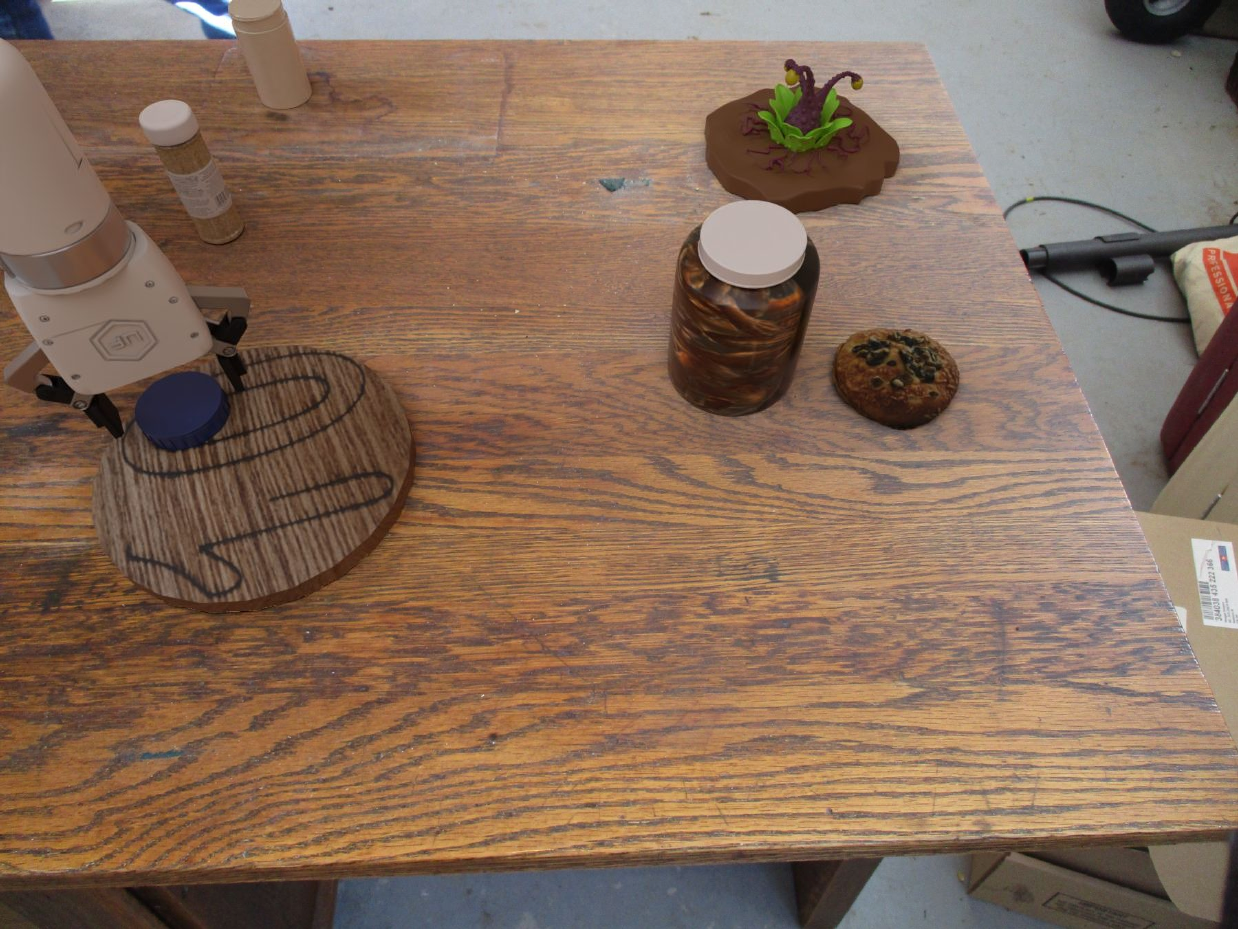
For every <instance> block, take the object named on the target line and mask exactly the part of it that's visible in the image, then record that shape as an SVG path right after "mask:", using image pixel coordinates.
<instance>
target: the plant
mask: <svg viewBox="0 0 1238 929" xmlns="http://www.w3.org/2000/svg"><path fill="white" fill-rule="evenodd" d="M783 70H784V71H785V72H786V73H785V76H784V80H785V83H786V85H783V84H782V83H779V82H778V83H777V84H776V85H775V86H774V88H767V87H765V88H762V89H759V90H756V91H755V92H753V93H751V94H749V95H746V96H744V97H740V98H738V99H734V100H732V101H729V102H727V103H725V104H723V105H721V106H719V107H718V108H716V109H715V110H713V111H712V112H710V113H709V114H707V116H706V118H705V125H704V138H705V142H706V147H705V161H706V163H707V164H706V165H707V166H708V168H709V170H710V171H711V173H713V175H714V176H715V178H717V180H718V181H719V183H720V184H721V186H722V187H723V188H724V189H725V190H726V191H727V192H729V193H732V194H734V195H738V196H740V197H743V198H744V199H745V200H759V201H765V202H770V203H773V204H776V205H779V206H781V207H783V208H785V209H787V210H788V211H790V212H792V213H793V214H794V215H795V214H798V213H802V212H816V211H821V210H824V209H827V208H831V207H833V206H836V205H839V204H858V205H859V204H860V203H861V201H862V200H863V198H866V197H869V196H870V197H871V196H877V195H878V194H880V192H881V190H882V186H883V183H884V180H885V178H889V177H893V176H894V175H895V174H896V172H897V170H898V167H899V164H900V160H901V151H900V147H899V144H898V142H897V140H896V139H895V138H894V137H893V136H892V135H890V134H889V133H888V132H887V131H886V130H885V129H884V128H883V127H881V125H879V124H878V123H877V122H876V121H875V120H874V119H873V118H872V116H870V115H869V114H868V113H867V112H866V111H864V110H863V109H861V108H860V107H858V106H856V105H855V104H853V103H852V102H851V101H850V99H848V98H847V97H846V96H843V95H839V94H838V93H837V89H836V88H835V87H834V86H835V85H836V84H837V83H838V82H839V81H840V80H842V79H845V78H846V77H850V86H851V88H852V89H853V90H854V91H859V90H861V89H862V88H863V86H864V79H863V77H862V76H861V75H860V74H858V73H857V72H853V71H851V70H846V71H842V72H840V73H837V74H836V75H835V76H832V77H831V79H828V80H827V83H824V84H823V86H822V87H817V86H815V84H816V79H815V78H814V77H815V75H814V72H813V71H812V69H811V66H809V65H805V64H804V65H799V64H798V63H797V61H796V60H794V59H793V58H788V59H786V60H785V61H784V64H783ZM804 73H805V74H804ZM788 86H791V87H788Z"/></svg>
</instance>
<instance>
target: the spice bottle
mask: <svg viewBox="0 0 1238 929" xmlns="http://www.w3.org/2000/svg"><path fill="white" fill-rule="evenodd" d="M138 123H139V125H140V128H141V130H142V131H143V133H144V136H145V138H146V139H147V140H148V142H150V143H151V145H152V146H153V148H154V149H155V152H156V153H157V155H158V157H159V160H160V161H161V163H162V165H163V167H164V171H165V173H166V174H167V176H168V178H169V181H170V182H171V184H172V186H173V188H174V189H175V192H176V194H177V195H178V198H179V199H180V201H181V204H182V205H183V207H184V209H185V210H186V212H187V214H188V215H189V216H190V219H191V220H192V222H193V225H194V226H195V228H196V230H197V234H198V236H199V238H200V239H201V240H202V241H203V242H205V243H208V244H213V245H223V244H226V243H229V242H232V241H234V240H236V239H237V238H238V237H239V236H240V235H241V234H242V232H243V230H244V228H245V226H244V224H245V223H244V220H243V218H242V217H241V216H240V215H239V212H238V211H237V209H236V206H235V204H234V202H233V197H232V195H231V193H230V191H229V189H228V186H227V184H226V182H225V180H224V178H223V176H222V174H221V172H220V169H219V167H218V165H217V163H216V161H215V159H214V156H213V155H212V153H211V152H210V149H209V148H208V146H207V144H206V141H205V140H204V137H203V135H202V133H201V128H200V126H199V122H198V120H197V118H196V116H195V114H194V112H193V110H192V108H191V107H190V105H189V104H188V103H186V102H184V101H183V100H178V99H164V100H163V99H162V100H159V101H156V102H154V103H150V104H149V105H148V106H146V107H145V108H144V109H143V110H142V111H140V113H139V116H138Z"/></svg>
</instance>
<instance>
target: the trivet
mask: <svg viewBox="0 0 1238 929" xmlns="http://www.w3.org/2000/svg"><path fill="white" fill-rule="evenodd" d="M237 352H238V354H239V356H240V358H241V360H242V361H243V363H244V366H245V368H246V370H247V374H245V375H242V376H240V377H241V379H242V382H243V385H244V387H245V391H243V392H240V393H239V391H238V392H236V391H235V389H234V387H233V386H232V384H231V382H230V381H229V379H228V377H227V376H226V374H225V372H224V371H223V369H222V367H221V366H220V364H219V362H218V359H217V358H215V359H212V360H210V361H208V362H205V363H203V364H201V365H198V366H195V367H194V368H191V369H189V370H188V371H196V372H201V373H205V374H207V375H209V376H211V377H213V378H214V379H215V380H216V381H217V382H218V383H219V384H220V386H221V388H222V389H223V390H224V392H225V393H226V395H227V396H228V398H229V399H228V401H229V404H230V406H231V407H230V412H229V414H230V415H229V417H228V419H227V421H226V424H225V425H224V426H223V428H222V429H221V430H220V431H219V432H218V433H217V434H216V435H215V436H214V437H212V438H211V439H210V440H208V441H206V442H204V443H202V444H200V445H198V446H195V447H192V448H188V449H181V450H170V449H164V448H161V447H159V446H155V444H154V443H152V442H151V441H149V440H148V439H147V438H146V436H145V435H144V434H143V433H142V430H141V429H140V427H139V426H138V425H137V422H136V420H135V414H134V412H135V410H134V411H133V412H132V413H131V414H130V415H129V416H128V417H127V418H126V419H124V421H123V423H122V426H123V430H124V434H123V437H120V438H117V439H115V438H114V437H112V439H111V440H110V442H109V443H108V445H107V446H106V448H105V449H104V451H103V453H102V456H101V459H100V462H99V466H98V468H97V471H96V474H95V477H94V478H93V482H92V488H91V521H92V522H91V523H92V524H93V527H94V530H95V533H96V535H97V539H98V541H99V544H100V546H101V549H102V552H104V554H105V555H106V556H107V557H108V559H110V560H111V562H112V563H113V564H114V565H115V566H116V567H117V568H118V569H119V571H120V572H121V573H122V574H123V575H124V576H125V577H126V579H128V580H129V581H130V582H131V583H132V584H133V585H134V586H136V588H137V589H139V588H140V589H139V590H141V589H142V590H141V591H143V592H145V591H146V592H145V593H146V594H148V593H149V594H148V595H150V594H151V595H150V596H152V595H153V597H154V596H155V597H154V598H156V597H157V598H156V599H158V598H159V599H158V600H159V601H161V600H163V601H164V602H163V601H162V602H163V603H165V602H166V603H165V604H167V603H168V604H167V605H169V604H171V605H175V606H181V607H186V608H192V609H195V610H200V611H205V612H211V613H212V612H226V611H228V612H229V611H249V610H251V611H254V610H259V609H263V608H265V607H270V606H274V605H277V606H280V605H279V604H281V603H284V604H286V603H285V602H288V601H291V602H293V601H292V600H295V601H297V600H296V599H298V600H300V599H299V598H301V597H303V596H305V595H307V596H309V595H311V594H312V592H313V593H314V592H316V591H318V590H320V589H322V588H323V587H322V586H324V585H326V584H328V583H330V582H331V583H333V582H335V581H337V580H339V579H341V578H343V577H344V576H345V575H346V574H347V573H348V572H349V571H351V570H352V569H353V568H354V567H355V566H356V565H355V564H357V563H358V562H359V561H360V560H361V559H362V558H364V557H365V556H366V555H367V554H368V553H369V552H371V551H372V552H373V551H374V550H376V548H377V547H378V546H379V545H380V543H381V542H382V541H383V539H384V538H385V536H386V535H387V534H388V533H389V531H390V530H391V529H392V527H393V526H394V524H395V523H396V522H397V520H398V519H399V518H400V516H401V513H402V511H403V508H404V506H405V503H406V501H407V499H408V496H409V494H410V491H411V489H412V486H413V484H414V477H415V476H414V475H415V464H416V454H417V450H416V449H417V448H416V445H415V442H414V441H415V440H414V437H413V433H412V428H411V425H410V421H409V417H408V415H407V412H406V409H405V407H404V405H403V403H402V401H401V400H400V399H399V397H398V395H397V394H396V393H395V391H394V390H393V388H392V386H391V385H390V384H389V382H388V381H386V380H385V378H383V377H382V376H380V375H379V374H378V373H377V372H376V371H374V370H373V369H372V368H370V367H369V366H368V365H366V364H365V363H364V362H361V361H359V360H357V359H354V358H353V357H349V356H347V355H344V354H342V353H340V352H337V351H335V350H332V349H331V350H330V349H325V348H318V347H312V346H306V345H302V344H301V345H300V344H298V345H297V344H296V345H295V344H294V345H274V346H272V345H271V346H259V347H254V348H252V349H246V350H243V351H237ZM395 521H396V522H395ZM383 537H384V538H383ZM382 538H383V539H382ZM380 541H381V542H380ZM379 542H380V543H379ZM377 545H378V546H377ZM376 546H377V547H376ZM372 552H371V553H372ZM368 555H369V554H368ZM368 555H367V556H368ZM367 556H366V557H367ZM366 557H365V558H366ZM365 558H364V559H365ZM362 560H363V559H362ZM362 560H361V561H362ZM361 561H360V562H361ZM360 562H359V563H360ZM359 563H358V564H359ZM358 564H357V565H358ZM354 565H355V566H354ZM353 566H354V567H353ZM352 567H353V568H352ZM351 568H352V569H351ZM350 569H351V570H350ZM347 571H348V572H347ZM346 572H347V573H346ZM345 573H346V574H345ZM344 574H345V575H344ZM340 577H341V578H340ZM338 578H339V579H338ZM336 579H337V580H336ZM334 580H335V581H334ZM332 581H333V582H332ZM331 583H330V584H331ZM328 585H329V584H328ZM326 586H327V585H326ZM321 587H322V588H321ZM324 587H325V586H324ZM310 593H311V594H310ZM308 594H309V595H308ZM305 597H306V596H305ZM303 598H304V597H303ZM301 599H302V598H301ZM288 603H289V602H288ZM171 605H170V606H171ZM281 605H282V604H281ZM175 606H174V607H175ZM274 607H275V606H274ZM270 608H271V607H270ZM195 610H194V611H195ZM263 610H264V609H263ZM200 611H199V612H200ZM205 612H204V613H205Z"/></svg>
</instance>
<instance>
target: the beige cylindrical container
mask: <svg viewBox="0 0 1238 929" xmlns="http://www.w3.org/2000/svg"><path fill="white" fill-rule="evenodd" d="M227 13H228V16H229V17H230V19H231V26H232V30H233V31H234V34H235V37H236V39H237V42H238V45H239V47H240V49H241V53H242V55H243V58H244V60H245V63H246V65H247V68H248V71H249V73H250V76H251V78H252V81H253V83H254V86H255V89H256V92H257V94H258V97H259V99H260V102H261V103H262V104H263V105H264V106H265V107H267V108H269V109H272V110H289V109H294V108H297V107H300V106H302V105H304V104H305V103H306V102H307V101H309V100H310V98H311V97H312V95H313V89H312V85H311V82H310V80H309V76H308V72H307V70H306V67H305V64H304V61H303V57H302V55H301V52H300V48H299V45H298V42H297V39H296V36H295V33H294V29H293V27H292V24H291V23H292V22H291V21H290V18H289V14H288V13H287V11H286V10H285V8H284V4H283V2H282V0H230V2H229V3H228V5H227Z"/></svg>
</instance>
